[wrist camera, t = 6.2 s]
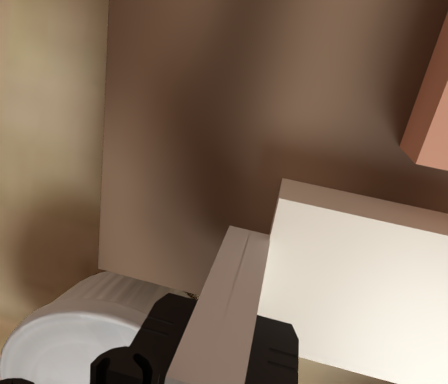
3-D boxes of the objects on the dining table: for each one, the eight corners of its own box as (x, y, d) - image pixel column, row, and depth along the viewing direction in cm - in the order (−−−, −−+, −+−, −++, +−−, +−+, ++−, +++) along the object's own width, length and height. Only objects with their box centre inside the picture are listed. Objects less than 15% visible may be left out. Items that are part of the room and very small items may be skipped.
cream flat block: (251, 308, 16) (244, 342, 14) (282, 177, 14) (278, 198, 12) (474, 366, 15) (497, 411, 13) (547, 235, 13) (589, 267, 11)
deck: (134, 228, 20) (98, 268, 17) (159, -75, 15) (113, -114, 11) (569, 337, 18) (637, 411, 14) (785, 17, 13) (984, 6, 9)
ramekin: (269, 323, 21) (259, 405, 16) (176, 424, 26) (147, 512, 21) (101, 214, 21) (40, 265, 16) (36, 336, 25) (-27, 404, 20)
